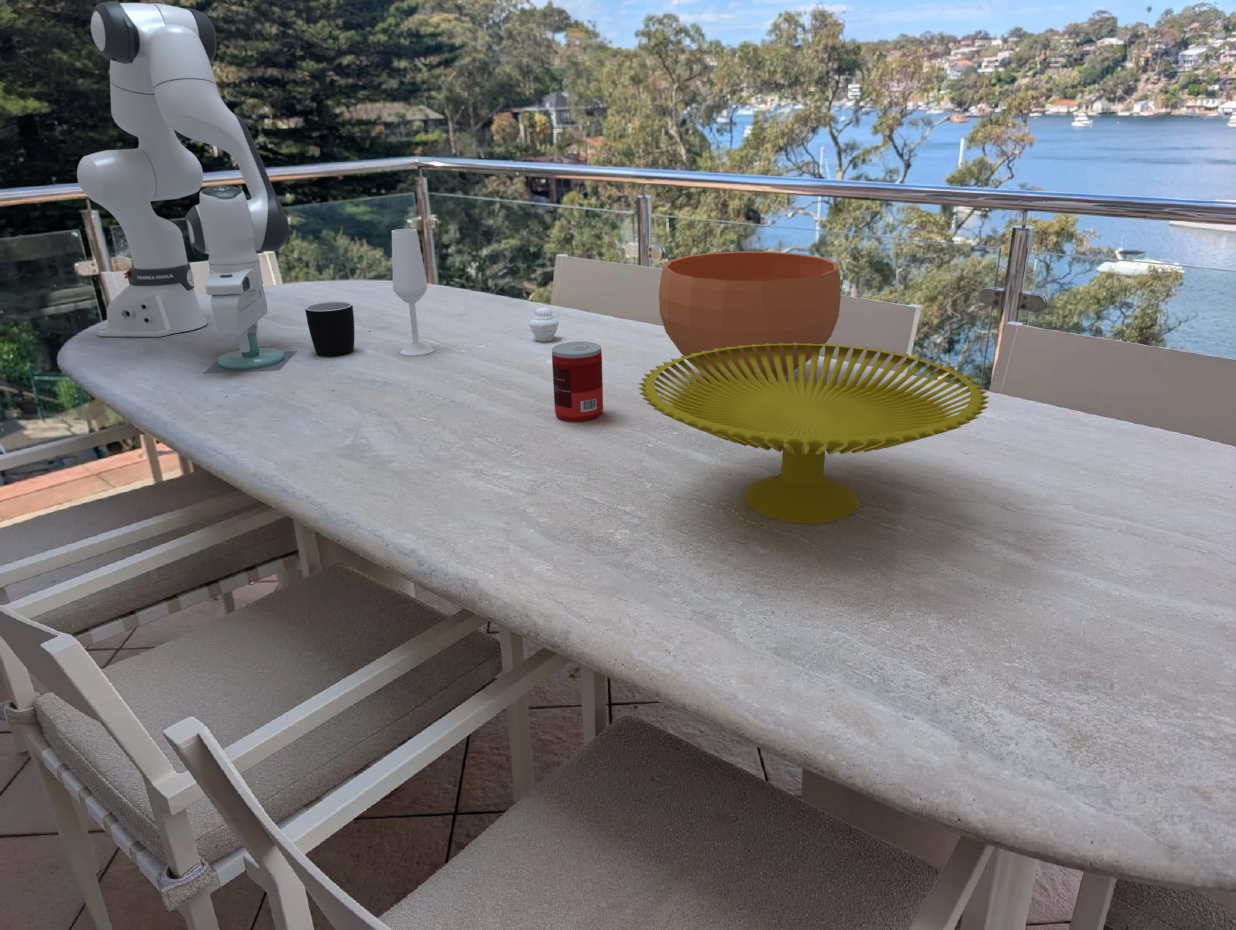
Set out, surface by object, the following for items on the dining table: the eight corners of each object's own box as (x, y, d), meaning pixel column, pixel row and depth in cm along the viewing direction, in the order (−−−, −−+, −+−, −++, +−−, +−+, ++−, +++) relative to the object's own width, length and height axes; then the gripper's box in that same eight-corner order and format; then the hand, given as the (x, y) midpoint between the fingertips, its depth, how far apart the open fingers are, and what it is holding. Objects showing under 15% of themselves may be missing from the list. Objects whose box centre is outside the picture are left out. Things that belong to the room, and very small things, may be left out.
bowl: (835, 413, 144) (844, 283, 136) (647, 405, 149) (646, 280, 142) (832, 362, 171) (840, 251, 163) (674, 357, 177) (674, 250, 169)
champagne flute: (437, 346, 188) (426, 227, 179) (428, 355, 182) (415, 232, 173) (406, 346, 189) (393, 228, 180) (395, 355, 183) (381, 232, 174)
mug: (367, 355, 183) (361, 305, 179) (327, 364, 177) (319, 313, 174) (336, 345, 191) (329, 297, 187) (296, 354, 185) (289, 304, 181)
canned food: (610, 408, 148) (608, 342, 144) (592, 424, 141) (590, 355, 137) (566, 404, 151) (563, 339, 147) (547, 420, 144) (543, 352, 140)
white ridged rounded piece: (557, 343, 189) (556, 309, 186) (528, 343, 189) (526, 310, 186) (560, 336, 195) (559, 303, 192) (531, 336, 195) (530, 304, 192)
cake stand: (627, 448, 131) (625, 347, 125) (901, 436, 133) (911, 336, 128) (657, 587, 94) (657, 452, 88) (1038, 567, 96) (1061, 433, 90)
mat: (203, 377, 171) (202, 373, 170) (226, 357, 184) (226, 353, 183) (279, 373, 172) (279, 369, 171) (297, 354, 185) (297, 350, 184)
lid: (210, 371, 171) (205, 344, 169) (229, 355, 182) (224, 329, 180) (275, 368, 172) (271, 341, 170) (290, 352, 183) (286, 326, 181)
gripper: (236, 267, 181) (248, 336, 186) (201, 287, 162) (216, 363, 167) (269, 266, 181) (280, 335, 186) (238, 286, 162) (251, 361, 167)
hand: (249, 348), depth 176 cm, fingers closed on lid, 3 cm apart
